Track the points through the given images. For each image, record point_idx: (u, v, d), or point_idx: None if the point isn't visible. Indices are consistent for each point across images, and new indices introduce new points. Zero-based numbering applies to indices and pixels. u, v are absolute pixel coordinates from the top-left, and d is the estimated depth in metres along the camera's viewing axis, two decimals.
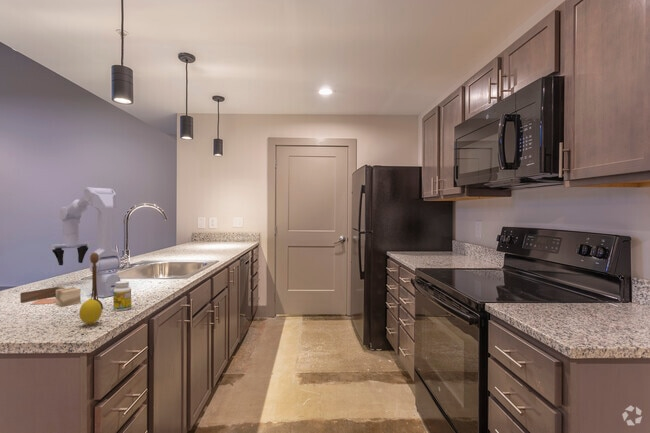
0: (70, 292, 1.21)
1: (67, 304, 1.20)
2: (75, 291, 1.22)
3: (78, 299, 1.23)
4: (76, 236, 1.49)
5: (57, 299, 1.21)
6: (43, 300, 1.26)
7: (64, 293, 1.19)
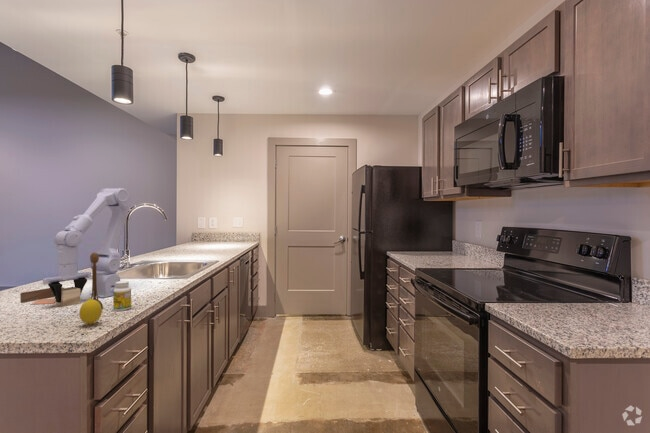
0: (70, 292, 1.21)
1: (67, 304, 1.20)
2: (75, 291, 1.22)
3: (78, 299, 1.23)
4: (75, 266, 1.22)
5: None
6: (43, 300, 1.26)
7: (64, 293, 1.19)
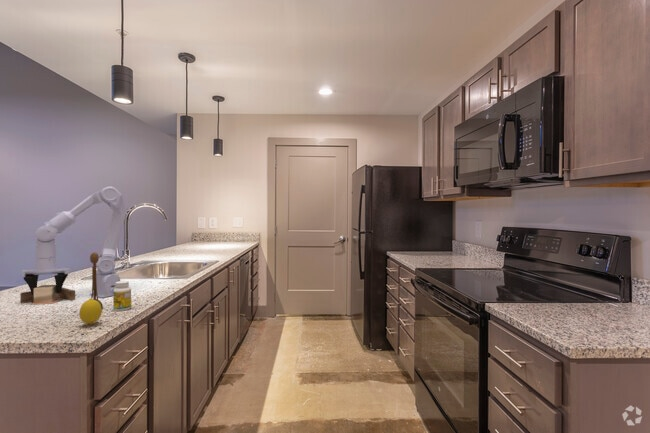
0: (41, 290, 1.23)
1: (38, 301, 1.23)
2: (46, 289, 1.23)
3: (49, 298, 1.24)
4: (46, 261, 1.23)
5: None
6: None
7: (34, 290, 1.22)
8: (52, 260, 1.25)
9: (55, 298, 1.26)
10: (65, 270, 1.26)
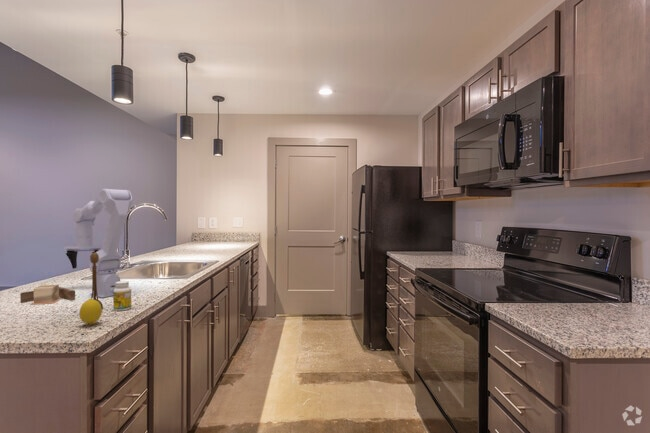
0: (41, 290, 1.23)
1: (38, 301, 1.23)
2: (46, 289, 1.23)
3: (49, 298, 1.24)
4: (85, 239, 1.42)
5: None
6: None
7: (34, 290, 1.22)
8: (90, 238, 1.44)
9: (55, 298, 1.26)
10: (101, 247, 1.45)
